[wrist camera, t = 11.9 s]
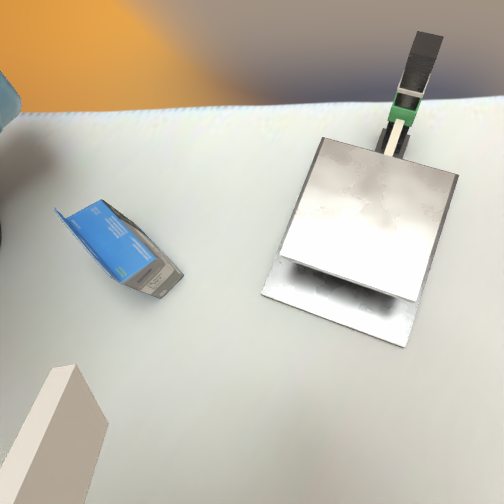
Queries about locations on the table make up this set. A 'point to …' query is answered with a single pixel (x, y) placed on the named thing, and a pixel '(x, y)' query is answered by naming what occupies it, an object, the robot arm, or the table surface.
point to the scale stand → (345, 292)
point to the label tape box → (123, 249)
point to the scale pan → (369, 217)
